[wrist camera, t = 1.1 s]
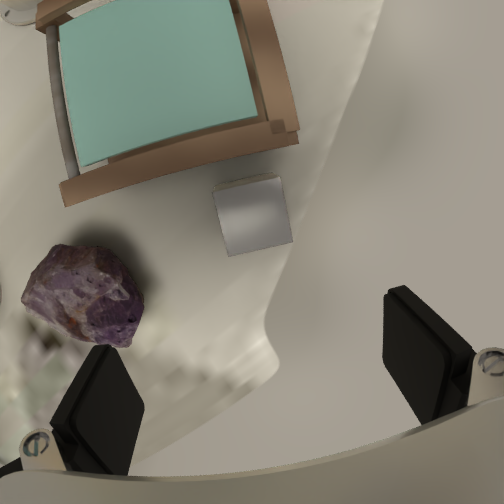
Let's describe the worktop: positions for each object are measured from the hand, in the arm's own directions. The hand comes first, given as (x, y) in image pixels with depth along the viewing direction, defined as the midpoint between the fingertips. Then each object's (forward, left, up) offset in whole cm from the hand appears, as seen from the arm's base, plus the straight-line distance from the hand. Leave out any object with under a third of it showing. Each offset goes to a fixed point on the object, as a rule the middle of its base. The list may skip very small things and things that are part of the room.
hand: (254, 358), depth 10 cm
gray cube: (-1, +1, -19) cm, 19 cm away
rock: (+1, -15, -20) cm, 25 cm away
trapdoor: (-13, -3, -11) cm, 17 cm away
